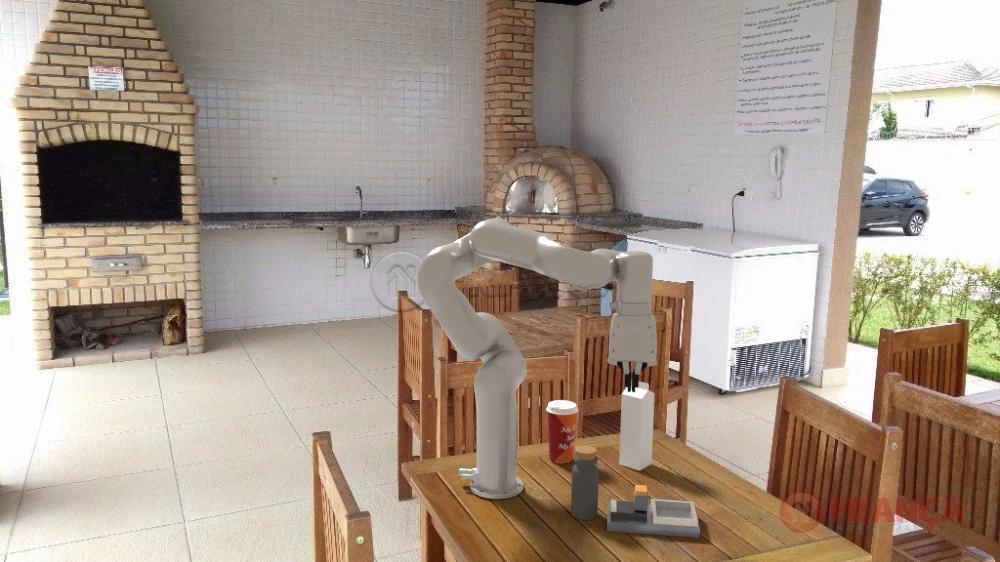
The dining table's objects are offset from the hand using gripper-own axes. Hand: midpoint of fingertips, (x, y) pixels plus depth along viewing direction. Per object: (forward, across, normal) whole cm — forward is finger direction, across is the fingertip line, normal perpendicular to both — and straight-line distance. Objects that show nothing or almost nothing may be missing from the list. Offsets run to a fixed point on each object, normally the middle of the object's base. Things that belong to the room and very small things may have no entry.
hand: (631, 390), depth 169 cm
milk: (+27, +2, +24) cm, 36 cm away
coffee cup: (+27, -16, +24) cm, 40 cm away
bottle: (+27, -10, -6) cm, 29 cm away
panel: (+27, +5, -8) cm, 29 cm away
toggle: (+23, +2, -8) cm, 25 cm away
